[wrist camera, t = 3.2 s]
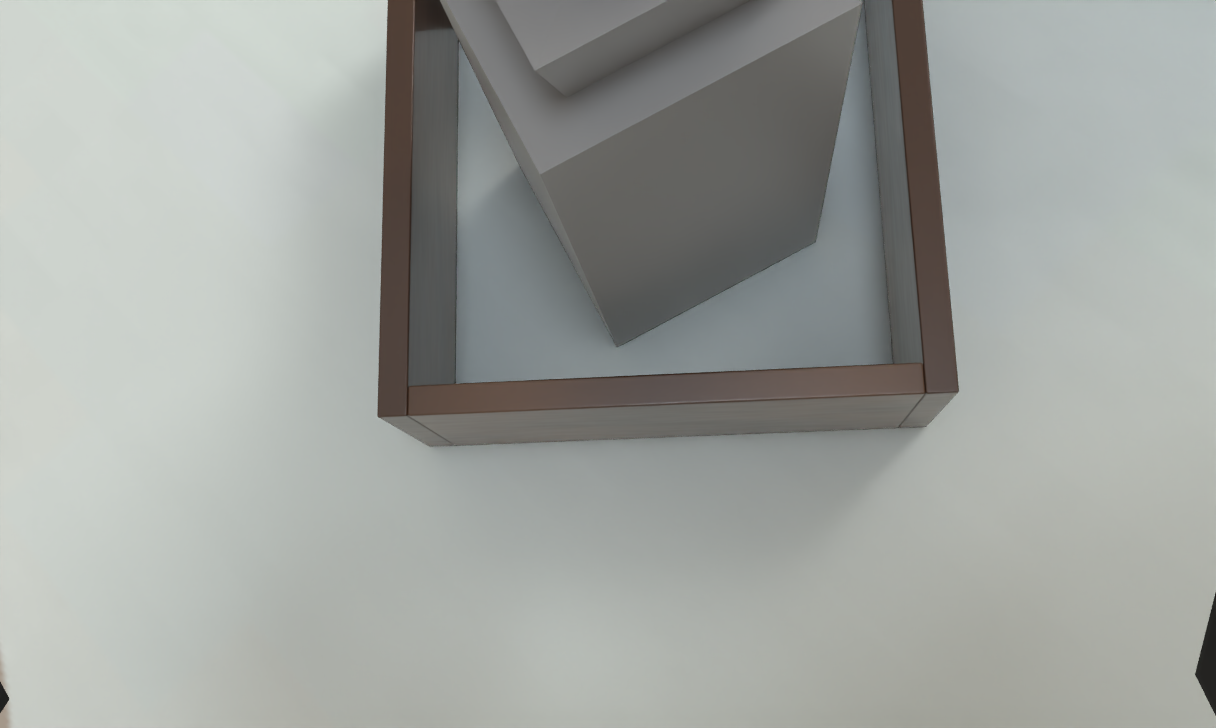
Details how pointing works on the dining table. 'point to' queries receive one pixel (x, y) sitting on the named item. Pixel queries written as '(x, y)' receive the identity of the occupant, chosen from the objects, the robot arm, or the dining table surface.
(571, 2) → the perfume bottle
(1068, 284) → the dining table surface
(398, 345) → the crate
